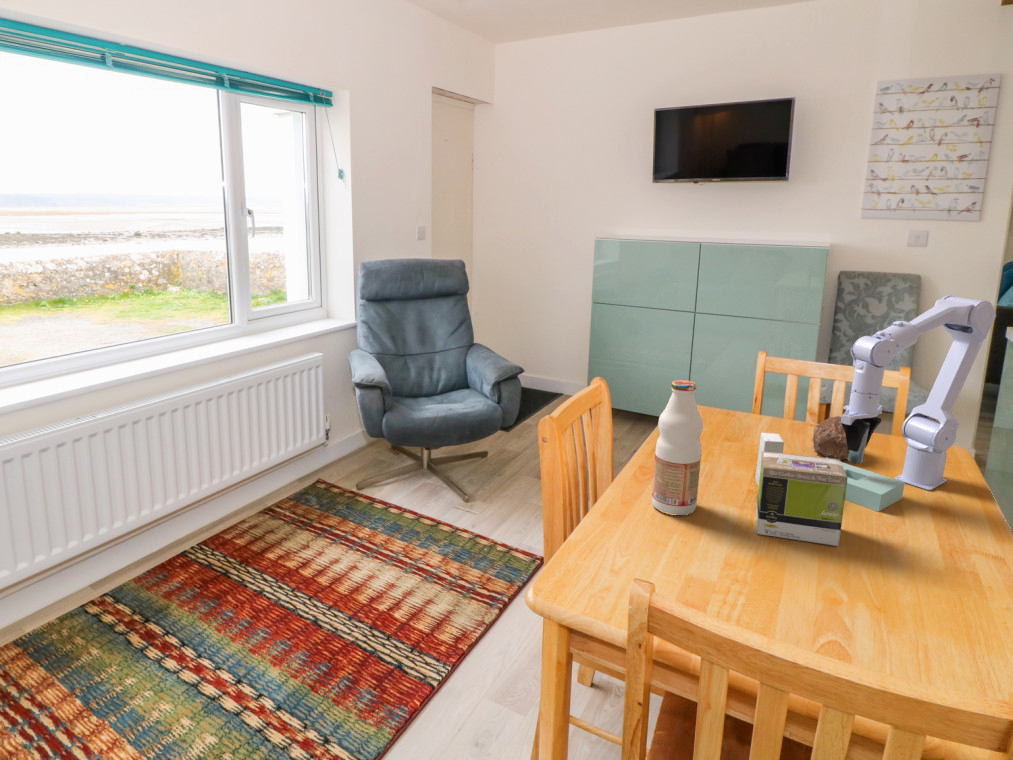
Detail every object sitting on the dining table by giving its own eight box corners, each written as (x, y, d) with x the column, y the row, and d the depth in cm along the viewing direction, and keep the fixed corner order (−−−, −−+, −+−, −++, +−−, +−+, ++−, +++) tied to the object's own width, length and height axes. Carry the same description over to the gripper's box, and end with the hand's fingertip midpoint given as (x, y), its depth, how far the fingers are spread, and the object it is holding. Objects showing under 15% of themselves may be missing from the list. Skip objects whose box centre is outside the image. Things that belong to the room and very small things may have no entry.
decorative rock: (815, 443, 182) (820, 408, 179) (860, 452, 175) (866, 416, 173) (804, 457, 171) (809, 421, 169) (852, 467, 165) (858, 430, 162)
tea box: (832, 525, 135) (842, 458, 132) (838, 548, 126) (849, 477, 122) (754, 513, 140) (762, 448, 136) (755, 535, 131) (763, 466, 127)
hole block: (824, 472, 162) (826, 457, 161) (901, 498, 148) (904, 482, 147) (799, 483, 155) (802, 467, 154) (878, 511, 141) (881, 494, 140)
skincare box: (778, 491, 151) (784, 442, 148) (758, 489, 152) (764, 440, 149) (773, 480, 157) (779, 433, 153) (754, 479, 157) (760, 432, 154)
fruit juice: (657, 517, 138) (667, 389, 130) (646, 497, 147) (655, 376, 140) (701, 517, 138) (714, 389, 131) (688, 497, 147) (699, 376, 140)
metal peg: (851, 457, 152) (859, 418, 149) (864, 461, 149) (872, 422, 146) (844, 460, 150) (852, 421, 147) (858, 464, 147) (866, 425, 145)
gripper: (863, 382, 152) (854, 437, 156) (831, 392, 144) (822, 450, 148) (895, 389, 147) (885, 446, 151) (863, 399, 139) (854, 459, 142)
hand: (856, 448), depth 149 cm, fingers closed on metal peg, 3 cm apart
